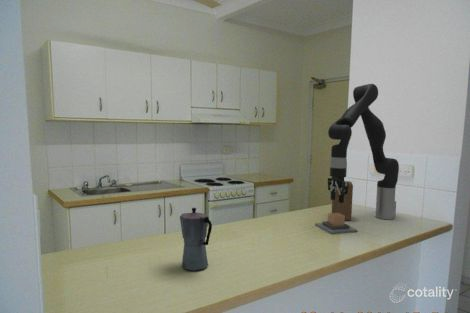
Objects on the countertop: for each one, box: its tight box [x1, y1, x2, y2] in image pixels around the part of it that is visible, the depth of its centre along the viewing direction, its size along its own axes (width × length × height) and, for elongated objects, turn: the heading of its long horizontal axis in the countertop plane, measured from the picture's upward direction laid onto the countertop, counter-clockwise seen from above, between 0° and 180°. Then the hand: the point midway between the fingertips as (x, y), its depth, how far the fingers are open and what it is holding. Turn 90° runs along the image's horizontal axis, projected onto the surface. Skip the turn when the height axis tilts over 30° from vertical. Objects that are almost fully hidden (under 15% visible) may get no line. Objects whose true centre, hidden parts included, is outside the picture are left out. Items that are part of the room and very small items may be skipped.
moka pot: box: [179, 207, 213, 271], centre depth 106 cm, size 10×15×20 cm, turn 51°
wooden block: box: [331, 180, 354, 222], centre depth 170 cm, size 10×10×20 cm
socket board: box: [314, 220, 358, 235], centre depth 152 cm, size 14×14×2 cm
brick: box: [327, 212, 346, 226], centre depth 151 cm, size 6×6×6 cm
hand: (336, 201), depth 151 cm, fingers open, 6 cm apart
